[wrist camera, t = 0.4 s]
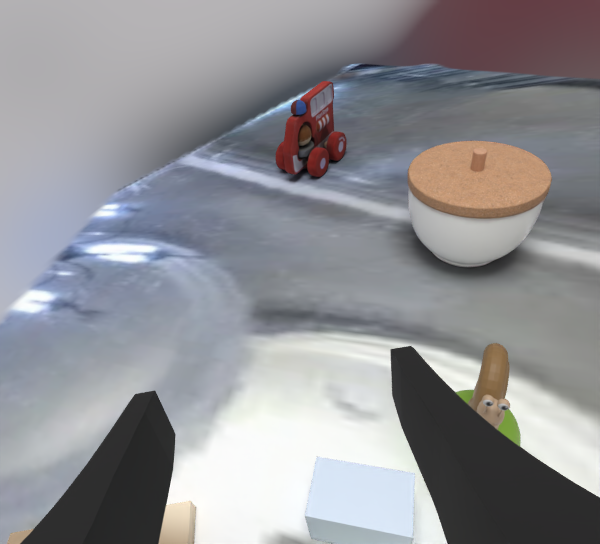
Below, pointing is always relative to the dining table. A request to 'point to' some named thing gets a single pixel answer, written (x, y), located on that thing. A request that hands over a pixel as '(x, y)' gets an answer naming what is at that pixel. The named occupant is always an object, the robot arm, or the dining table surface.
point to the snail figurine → (493, 392)
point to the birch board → (174, 530)
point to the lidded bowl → (475, 199)
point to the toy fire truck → (311, 134)
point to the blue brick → (360, 504)
